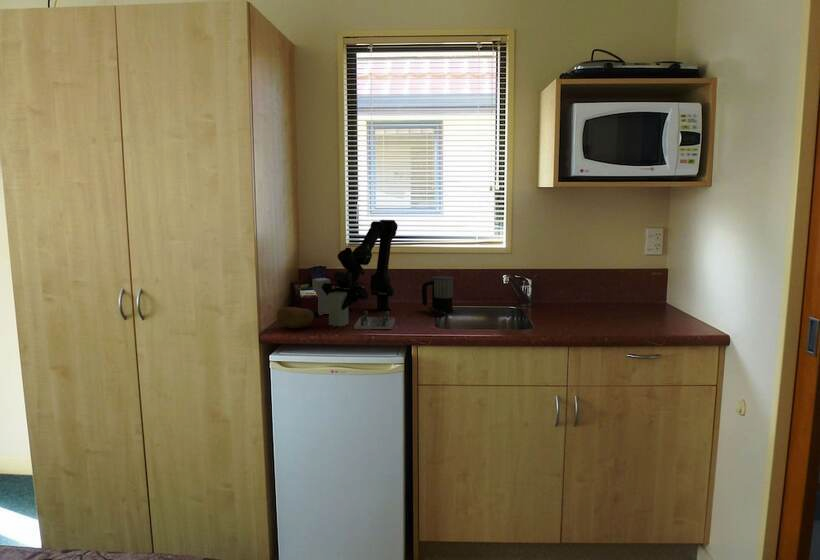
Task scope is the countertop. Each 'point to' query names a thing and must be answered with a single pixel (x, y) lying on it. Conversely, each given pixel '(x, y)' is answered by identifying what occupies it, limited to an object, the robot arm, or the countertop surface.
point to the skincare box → (321, 295)
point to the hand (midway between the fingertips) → (336, 308)
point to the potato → (294, 317)
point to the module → (337, 309)
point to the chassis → (374, 322)
